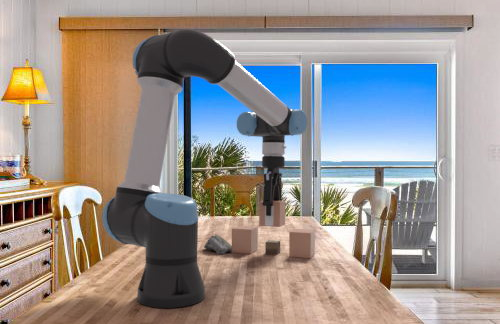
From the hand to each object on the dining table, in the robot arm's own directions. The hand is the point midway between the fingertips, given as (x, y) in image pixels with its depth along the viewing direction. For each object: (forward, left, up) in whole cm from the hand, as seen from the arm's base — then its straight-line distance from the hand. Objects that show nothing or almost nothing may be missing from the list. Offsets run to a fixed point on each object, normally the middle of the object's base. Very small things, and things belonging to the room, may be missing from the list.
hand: (272, 224), depth 157 cm
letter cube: (0, 0, -10) cm, 10 cm away
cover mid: (0, 0, 0) cm, 0 cm away
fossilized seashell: (-2, +19, -10) cm, 21 cm away
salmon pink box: (0, -10, -10) cm, 14 cm away
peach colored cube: (0, +10, -10) cm, 14 cm away
